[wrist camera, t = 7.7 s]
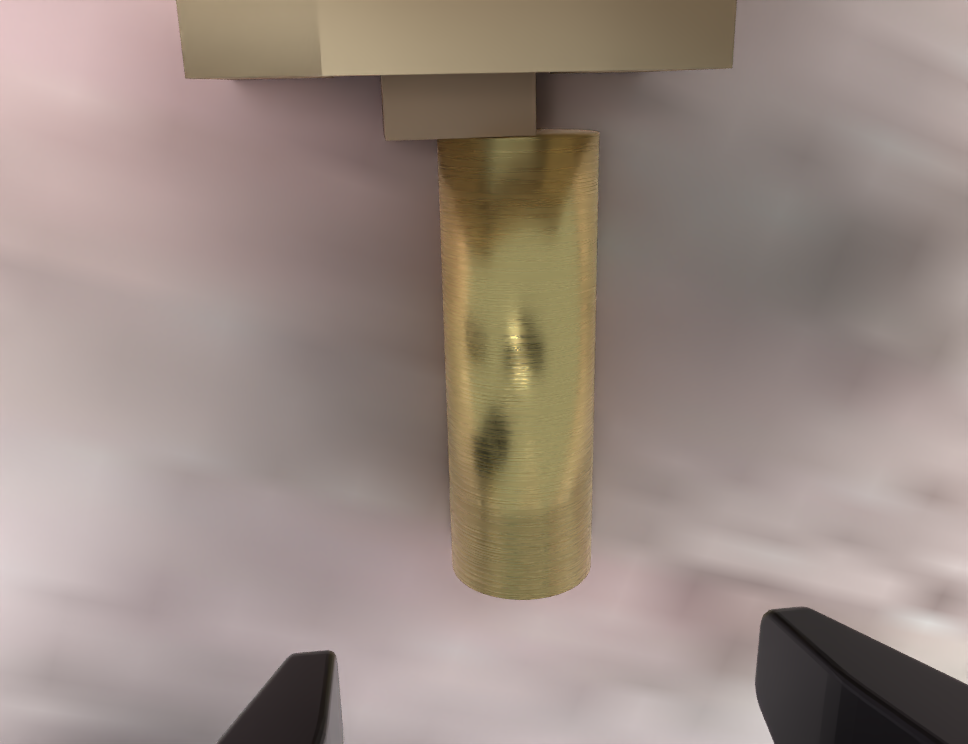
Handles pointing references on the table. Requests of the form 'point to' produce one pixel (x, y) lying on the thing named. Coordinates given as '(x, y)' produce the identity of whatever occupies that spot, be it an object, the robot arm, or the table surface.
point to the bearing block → (451, 37)
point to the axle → (520, 356)
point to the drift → (458, 105)
